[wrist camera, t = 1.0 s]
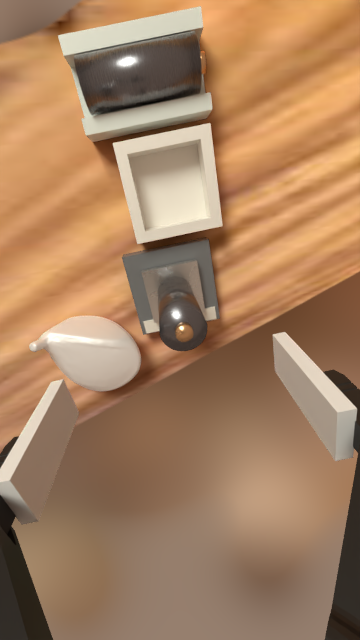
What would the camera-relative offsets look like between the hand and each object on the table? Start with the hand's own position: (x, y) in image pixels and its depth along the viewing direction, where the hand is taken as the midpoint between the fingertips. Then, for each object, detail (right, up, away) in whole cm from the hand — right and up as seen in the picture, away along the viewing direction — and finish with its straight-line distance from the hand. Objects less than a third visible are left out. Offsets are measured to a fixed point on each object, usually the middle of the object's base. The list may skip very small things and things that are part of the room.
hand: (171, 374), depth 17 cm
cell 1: (-3, +28, +11) cm, 30 cm away
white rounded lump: (-12, -1, +24) cm, 27 cm away
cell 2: (0, +7, +18) cm, 19 cm away
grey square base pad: (0, +8, +21) cm, 23 cm away
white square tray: (-1, +19, +16) cm, 25 cm away
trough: (-4, +28, +12) cm, 31 cm away
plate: (0, +7, +19) cm, 20 cm away
